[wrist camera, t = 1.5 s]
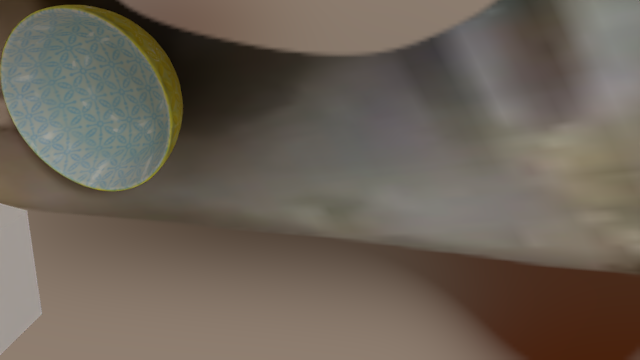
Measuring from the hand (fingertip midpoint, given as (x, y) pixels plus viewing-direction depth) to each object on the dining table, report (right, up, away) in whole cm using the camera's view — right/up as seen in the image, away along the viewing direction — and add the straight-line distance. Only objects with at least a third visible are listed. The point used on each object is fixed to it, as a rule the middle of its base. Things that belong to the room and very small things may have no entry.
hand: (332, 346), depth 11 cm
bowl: (-13, +10, +29) cm, 34 cm away
